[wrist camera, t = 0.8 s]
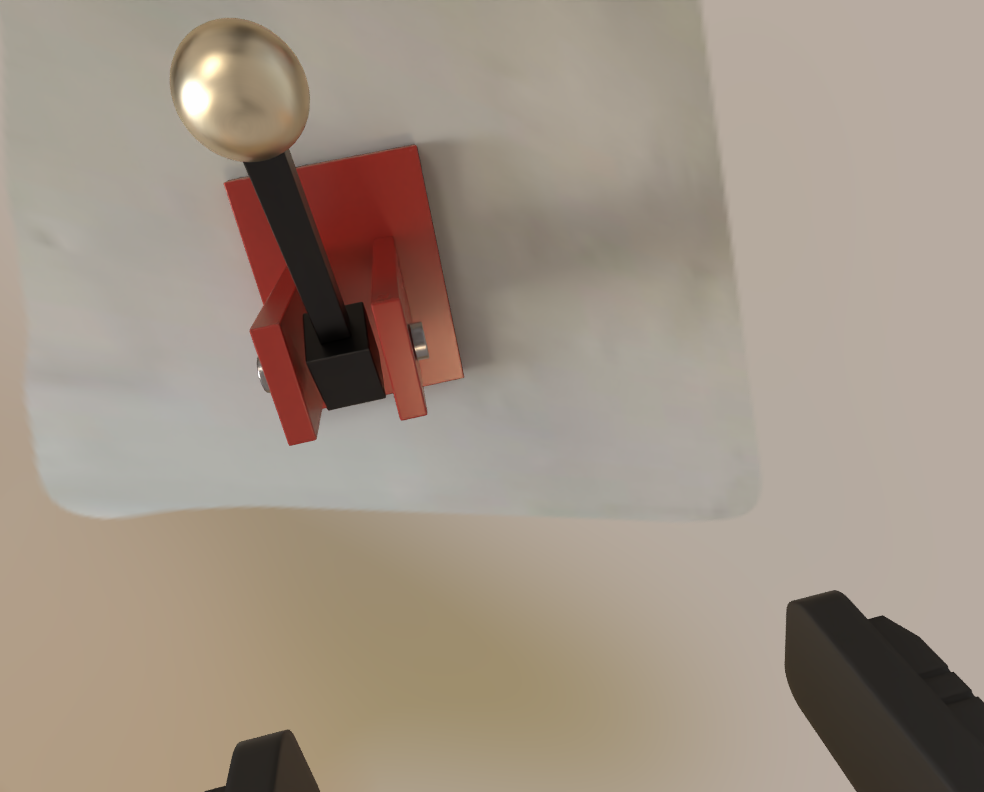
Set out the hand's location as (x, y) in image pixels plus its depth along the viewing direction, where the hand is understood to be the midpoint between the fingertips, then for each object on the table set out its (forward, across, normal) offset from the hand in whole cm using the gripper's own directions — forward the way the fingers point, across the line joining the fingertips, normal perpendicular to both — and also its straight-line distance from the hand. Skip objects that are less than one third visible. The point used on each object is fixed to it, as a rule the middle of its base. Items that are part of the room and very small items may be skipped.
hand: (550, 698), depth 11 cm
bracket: (+27, +4, 0) cm, 27 cm away
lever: (+15, +4, -6) cm, 17 cm away
